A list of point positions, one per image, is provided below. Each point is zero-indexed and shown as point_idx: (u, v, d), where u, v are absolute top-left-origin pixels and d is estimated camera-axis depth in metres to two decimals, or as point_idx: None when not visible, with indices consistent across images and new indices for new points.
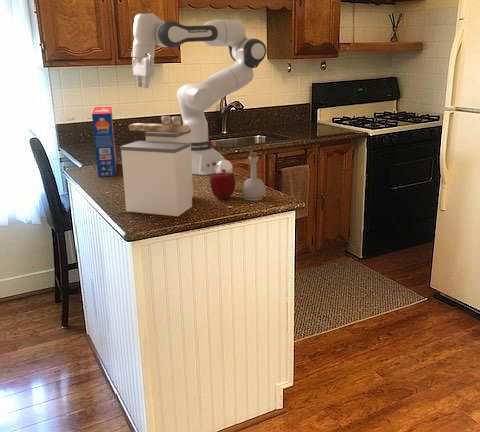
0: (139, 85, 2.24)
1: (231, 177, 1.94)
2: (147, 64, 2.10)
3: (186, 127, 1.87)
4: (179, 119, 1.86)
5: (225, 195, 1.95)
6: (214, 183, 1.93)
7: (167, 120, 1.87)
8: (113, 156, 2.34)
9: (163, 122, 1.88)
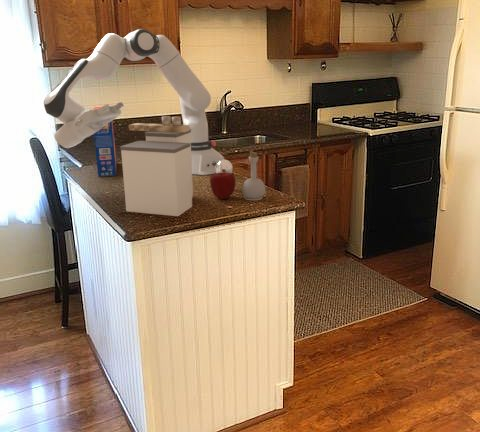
0: (120, 105, 1.96)
1: (231, 177, 1.94)
2: (83, 123, 1.88)
3: (186, 127, 1.87)
4: (179, 119, 1.86)
5: (225, 195, 1.95)
6: (214, 183, 1.93)
7: (167, 120, 1.87)
8: (113, 156, 2.34)
9: (163, 122, 1.88)
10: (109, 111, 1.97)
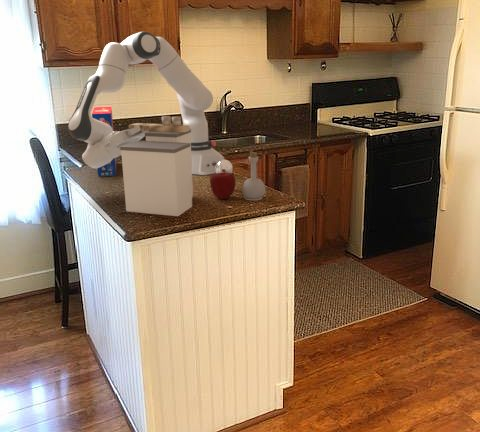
0: None
1: (231, 177, 1.94)
2: (113, 144, 1.88)
3: (186, 127, 1.87)
4: (179, 119, 1.86)
5: (225, 195, 1.95)
6: (214, 183, 1.93)
7: (167, 120, 1.87)
8: None
9: (163, 122, 1.88)
10: (137, 131, 1.97)
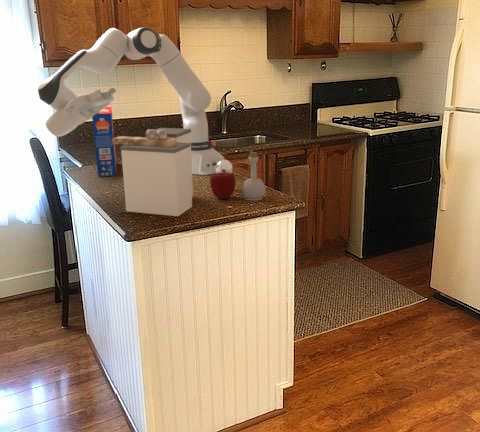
0: (112, 91, 1.91)
1: (231, 177, 1.94)
2: (74, 109, 1.82)
3: (172, 141, 1.77)
4: (165, 133, 1.76)
5: (225, 195, 1.95)
6: (214, 183, 1.93)
7: (152, 134, 1.77)
8: (113, 156, 2.34)
9: (148, 136, 1.78)
10: (101, 97, 1.91)
